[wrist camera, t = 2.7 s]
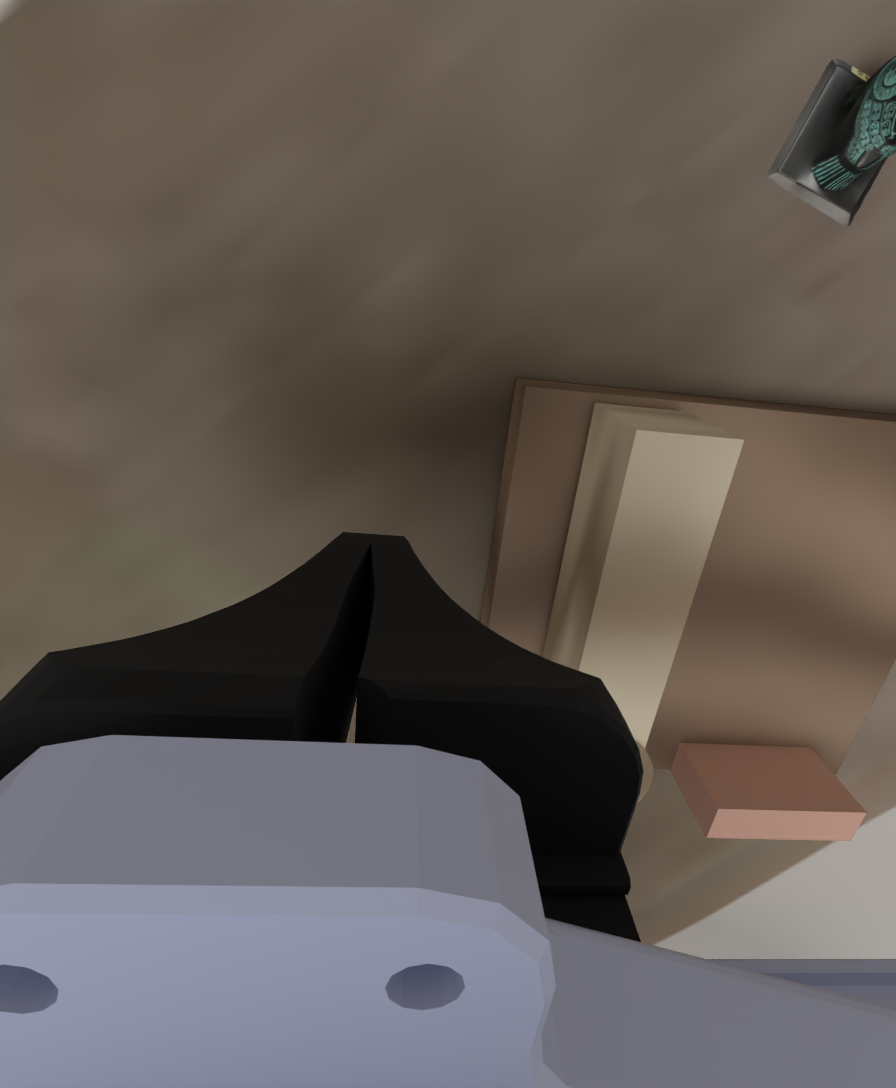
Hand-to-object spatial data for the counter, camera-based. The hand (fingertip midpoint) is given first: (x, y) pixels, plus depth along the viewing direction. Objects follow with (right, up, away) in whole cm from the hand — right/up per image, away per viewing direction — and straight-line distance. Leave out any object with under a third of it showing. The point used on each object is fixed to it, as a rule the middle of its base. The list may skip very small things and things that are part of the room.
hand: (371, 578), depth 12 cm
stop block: (+12, -7, +9) cm, 17 cm away
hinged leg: (+6, -1, +6) cm, 8 cm away
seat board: (+10, -1, +8) cm, 13 cm away
